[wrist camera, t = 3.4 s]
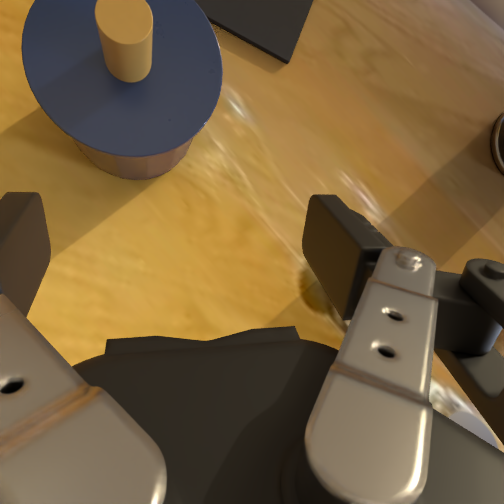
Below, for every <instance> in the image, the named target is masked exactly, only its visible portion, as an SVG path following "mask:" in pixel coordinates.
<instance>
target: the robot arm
mask: <svg viewBox="0 0 504 504" xmlns="http://www.w3.org/2000/svg"><path fill="white" fill-rule="evenodd" d="M491 147H492V154H493V157H494V160H495V163H496V165H497V167H498V168H499V170H500V171H501V172H502V173H503V174H504V113H503V114H502V115H501V116H500V117H499V119H498V120H497V122H496V124H495V126H494V129H493V133H492V139H491ZM302 249H303V254H304V256H305V258H306V260H307V262H308V263H309V265H310V267H311V268H312V270H313V272H314V273H315V275H316V277H317V278H318V280H319V282H320V283H321V285H322V287H323V288H324V290H325V292H326V293H327V295H328V296H329V298H330V300H331V301H332V303H333V305H334V306H335V308H336V310H337V311H338V313H339V315H340V316H341V318H342V320H351V322H350V325H349V327H348V330H347V332H346V335H345V337H344V340H343V342H342V344H341V347H340V349H339V350H337V349H334V348H332V347H329V346H327V345H324V344H321V343H317V342H314V341H309V340H303V339H300V337H299V335H298V333H297V331H296V328H295V326H289V327H275V328H261V329H251V330H247V331H243V332H240V333H236V334H232V335H229V336H225V337H221V338H217V339H214V340H209V341H199V340H190V339H181V338H172V337H163V336H148V337H134V338H119V339H107V342H106V349H105V354H103V355H100V356H96V357H93V358H91V359H88V360H85V361H83V362H81V363H78V364H76V365H74V366H72V367H71V366H70V364H69V363H68V362H67V361H66V360H65V359H64V358H63V357H62V356H61V355H60V354H59V353H58V352H57V351H56V349H55V348H54V347H53V346H52V345H51V344H50V343H49V342H48V341H47V340H46V339H45V338H44V337H43V335H42V334H41V333H40V332H39V331H38V330H37V329H36V328H35V327H34V326H33V325H32V324H31V323H30V321H29V320H28V319H27V318H26V317H27V314H28V312H29V310H30V307H31V305H32V303H33V300H34V298H35V296H36V293H37V291H38V289H39V286H40V284H41V282H42V279H43V277H44V274H45V272H46V270H47V267H48V265H49V262H50V256H51V246H50V240H49V234H48V229H47V224H46V219H45V214H44V208H43V203H42V199H41V196H40V195H39V193H38V192H7V193H6V194H5V195H4V196H3V197H2V199H1V200H0V504H504V453H503V452H502V451H500V450H499V449H497V448H495V447H494V446H492V445H490V444H489V443H487V442H486V441H484V440H483V439H481V438H479V437H478V436H476V435H475V434H473V433H471V432H470V431H468V430H467V429H465V428H463V427H462V426H460V425H459V424H457V423H455V422H454V421H452V420H451V419H449V418H447V417H446V416H444V415H443V414H441V413H439V412H438V411H436V410H435V409H433V408H432V404H431V403H430V402H429V390H430V380H431V370H432V360H433V350H434V351H435V353H436V354H437V355H438V357H439V358H440V359H441V361H442V362H443V363H444V365H445V366H446V368H447V369H448V370H449V372H450V373H451V374H452V376H453V377H454V378H455V380H456V381H457V382H458V384H459V385H460V387H461V388H462V389H463V391H464V392H465V393H466V395H467V396H468V397H469V399H470V400H471V401H472V403H473V404H474V406H475V407H476V408H477V410H478V411H479V412H480V414H481V415H482V416H483V418H484V419H485V420H486V422H487V423H488V425H489V426H490V427H491V429H492V430H493V431H494V433H495V434H496V435H497V437H498V438H499V439H500V441H501V442H502V444H503V445H504V358H503V356H502V355H501V354H500V353H499V352H498V351H497V350H496V349H495V348H494V347H493V345H494V343H495V341H496V339H497V337H498V335H499V333H500V332H501V330H502V328H503V329H504V264H502V263H499V262H496V261H492V260H488V259H471V260H469V261H468V262H467V263H466V266H465V268H464V270H463V273H462V274H456V273H449V272H443V271H436V264H435V263H434V261H433V260H432V259H431V258H430V257H428V256H427V255H425V254H423V253H421V252H419V251H417V250H414V249H410V248H406V247H398V246H393V245H392V244H391V243H390V242H389V241H388V240H387V239H386V238H385V237H384V236H383V235H382V234H381V233H380V232H378V230H377V229H376V228H375V227H374V226H373V225H371V223H370V222H369V221H368V220H367V219H366V218H365V217H364V216H362V215H360V214H359V213H357V212H355V211H353V210H351V209H349V208H348V207H347V206H346V205H345V204H344V203H343V202H342V201H341V199H340V198H339V197H338V196H336V195H312V196H311V198H310V200H309V204H308V210H307V215H306V221H305V227H304V232H303V238H302Z"/></svg>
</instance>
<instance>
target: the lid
mask: <svg viewBox="0 0 504 504" xmlns="http://www.w3.org/2000/svg"><path fill="white" fill-rule="evenodd" d="M22 60H23V65H24V70H25V74H26V77H27V80H28V83H29V85H30V88H31V90H32V92H33V94H34V96H35V98H36V100H37V101H38V103H39V104H40V106H41V107H42V108H43V110H44V111H45V113H46V114H47V115H48V116H49V118H50V119H51V120H52V121H53V122H54V123H55V124H56V125H57V126H58V127H59V128H60V129H61V130H62V131H64V132H65V133H66V134H67V135H68V136H70V137H71V138H73V139H74V140H76V141H77V142H79V143H81V144H82V145H84V146H86V147H88V148H90V149H92V150H95V151H98V152H100V153H103V154H107V155H111V156H115V157H122V158H147V157H154V156H158V155H162V154H165V153H168V152H170V151H173V150H175V149H177V148H179V147H180V146H182V145H184V144H185V143H187V142H188V141H189V140H191V139H192V138H193V137H194V136H196V135H197V133H198V132H199V131H200V130H201V129H202V128H203V127H204V125H205V124H206V123H207V121H208V120H209V118H210V117H211V115H212V113H213V111H214V109H215V107H216V104H217V101H218V98H219V95H220V91H221V86H222V75H223V68H222V57H221V52H220V47H219V44H218V41H217V37H216V35H215V32H214V30H213V28H212V26H211V24H210V22H209V20H208V19H207V17H206V15H205V14H204V12H203V11H202V10H201V8H200V7H199V6H198V4H197V3H196V2H195V1H194V0H35V1H34V3H33V5H32V6H31V8H30V10H29V13H28V15H27V18H26V21H25V24H24V29H23V34H22Z"/></svg>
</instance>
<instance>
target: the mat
mask: <svg viewBox="0 0 504 504" xmlns="http://www.w3.org/2000/svg"><path fill="white" fill-rule="evenodd" d="M194 1H195V2H196V3H197V4H198V6H199V7H200V8H201V10H202V11H203V12H204V14H205V15H206V17H207V19H208V20H209V21H210V22H212V23H214V24H215V25H217V26H219V27H221V28H223V29H224V30H226V31H228V32H230V33H232V34H234V35H235V36H237V37H239V38H241V39H243V40H244V41H246V42H248V43H250V44H252V45H254V46H255V47H257V48H259V49H261V50H263V51H264V52H266V53H268V54H270V55H272V56H274V57H275V58H277V59H279V60H281V61H283V62H284V63H286V64H288V63H289V62H290V59H291V56H292V54H293V51H294V49H295V46H296V43H297V41H298V38H299V36H300V33H301V31H302V28H303V25H304V23H305V20H306V18H307V15H308V13H309V10H310V7H311V5H312V2H313V0H194Z"/></svg>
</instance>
